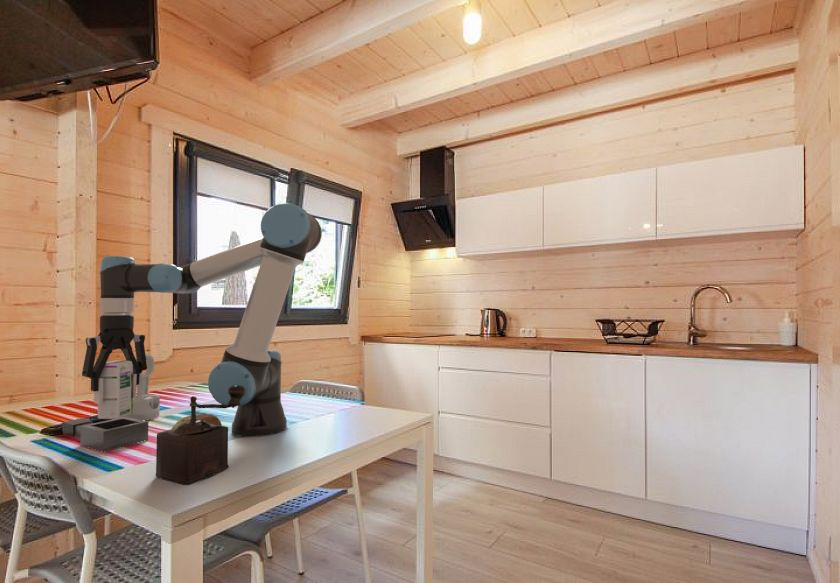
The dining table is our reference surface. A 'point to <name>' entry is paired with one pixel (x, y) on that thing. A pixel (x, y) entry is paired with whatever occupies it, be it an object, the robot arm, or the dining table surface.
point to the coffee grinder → (195, 445)
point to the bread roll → (205, 417)
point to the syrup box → (117, 390)
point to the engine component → (145, 396)
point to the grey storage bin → (107, 432)
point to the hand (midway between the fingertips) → (115, 400)
